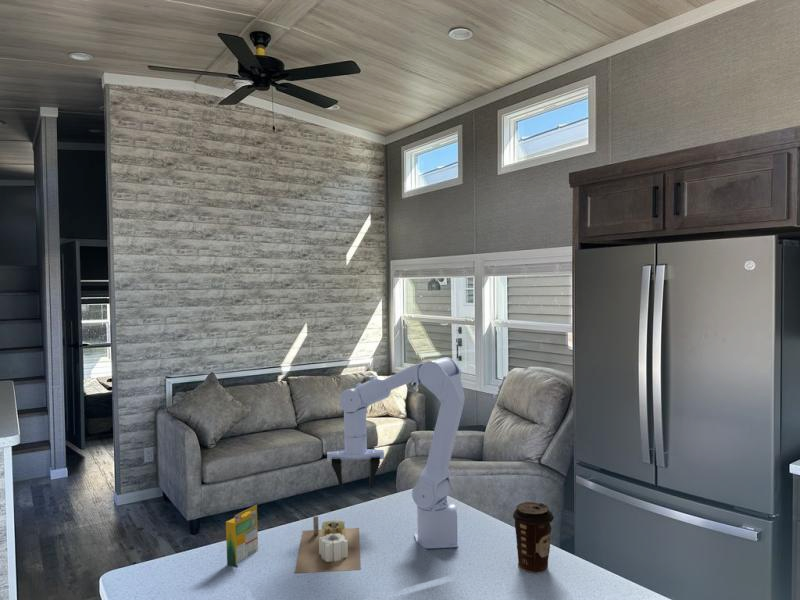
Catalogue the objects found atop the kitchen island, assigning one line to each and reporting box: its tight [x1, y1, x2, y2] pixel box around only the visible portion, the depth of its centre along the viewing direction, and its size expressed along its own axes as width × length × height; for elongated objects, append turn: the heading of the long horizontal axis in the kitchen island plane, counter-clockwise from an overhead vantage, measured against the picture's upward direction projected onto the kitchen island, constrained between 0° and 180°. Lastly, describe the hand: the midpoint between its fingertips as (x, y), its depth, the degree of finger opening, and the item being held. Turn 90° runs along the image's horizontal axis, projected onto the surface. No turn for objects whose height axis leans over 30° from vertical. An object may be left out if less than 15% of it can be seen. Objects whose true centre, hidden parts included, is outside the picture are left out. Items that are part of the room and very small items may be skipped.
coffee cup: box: [512, 501, 555, 574], centre depth 128 cm, size 9×8×13 cm
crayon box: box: [225, 504, 259, 568], centre depth 133 cm, size 7×3×12 cm, turn 152°
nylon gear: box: [319, 533, 348, 562], centre depth 132 cm, size 5×5×4 cm
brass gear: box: [321, 520, 346, 537], centre depth 139 cm, size 5×5×4 cm
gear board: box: [294, 515, 362, 574], centre depth 136 cm, size 14×22×6 cm, turn 5°
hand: (356, 487), depth 151 cm, fingers open, 7 cm apart
